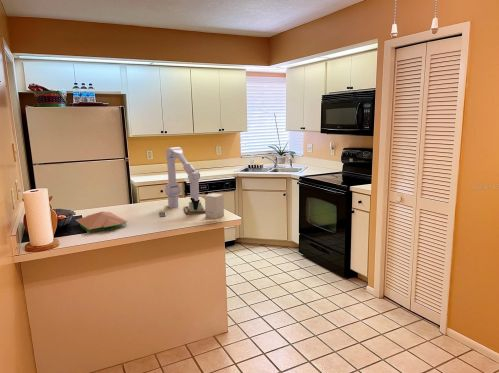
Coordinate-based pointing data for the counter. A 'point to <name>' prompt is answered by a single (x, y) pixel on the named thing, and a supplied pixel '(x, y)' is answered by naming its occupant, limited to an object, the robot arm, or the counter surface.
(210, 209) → the supplement box
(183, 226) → the counter surface
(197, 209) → the pale green rectangular block
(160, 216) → the charcoal mat
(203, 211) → the walnut rack
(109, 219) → the green-backed flat pad
